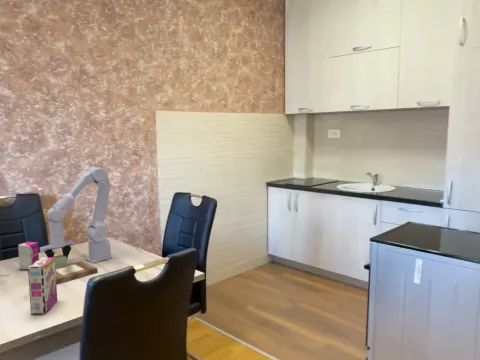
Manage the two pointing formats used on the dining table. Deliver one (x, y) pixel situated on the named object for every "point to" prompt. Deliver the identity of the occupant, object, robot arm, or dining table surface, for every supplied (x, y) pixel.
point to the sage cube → (60, 261)
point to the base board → (74, 271)
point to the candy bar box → (42, 285)
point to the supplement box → (28, 254)
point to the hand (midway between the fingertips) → (59, 264)
